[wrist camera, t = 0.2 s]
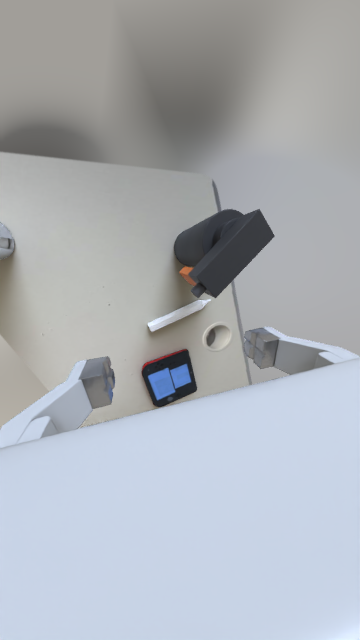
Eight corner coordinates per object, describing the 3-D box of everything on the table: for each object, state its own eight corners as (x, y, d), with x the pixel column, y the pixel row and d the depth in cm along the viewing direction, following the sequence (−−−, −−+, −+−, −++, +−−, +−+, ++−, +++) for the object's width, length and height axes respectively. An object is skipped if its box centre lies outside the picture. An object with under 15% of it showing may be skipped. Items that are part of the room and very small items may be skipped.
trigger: (189, 283, 25) (202, 289, 21) (178, 272, 24) (189, 275, 20) (195, 278, 25) (209, 282, 20) (184, 266, 24) (196, 268, 20)
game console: (196, 388, 49) (199, 393, 47) (154, 403, 47) (155, 410, 45) (187, 347, 44) (189, 351, 42) (139, 362, 42) (139, 368, 40)
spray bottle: (176, 287, 38) (218, 317, 19) (152, 264, 35) (174, 272, 16) (211, 248, 37) (295, 238, 18) (190, 221, 34) (262, 174, 15)
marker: (208, 298, 41) (149, 326, 40) (208, 292, 40) (146, 321, 38) (214, 305, 40) (153, 334, 38) (214, 299, 38) (150, 330, 37)
